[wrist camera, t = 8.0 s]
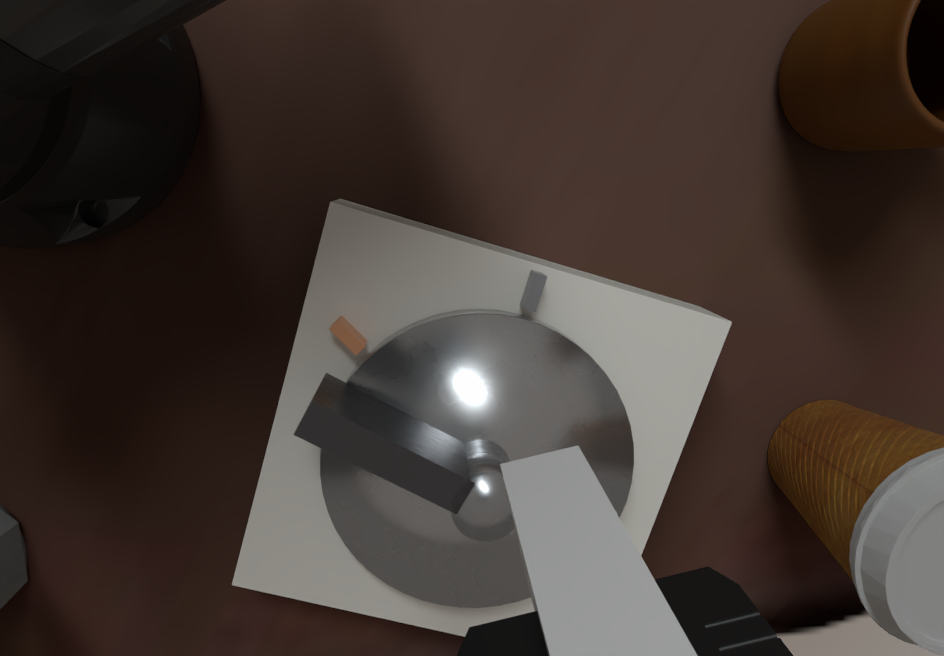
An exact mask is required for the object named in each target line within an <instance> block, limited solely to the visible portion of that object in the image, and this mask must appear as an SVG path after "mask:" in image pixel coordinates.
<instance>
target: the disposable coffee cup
mask: <svg viewBox="0 0 944 656" xmlns="http://www.w3.org/2000/svg"><path fill="white" fill-rule="evenodd" d="M768 466H769V471H770V473H771V475H772V478H773V480H774V482H775V483H776V484H777V486H778V487H779V488H780V489H781V490H782V492H783V493H784V494H785V495H786V497H787V498H788V499H789V500H790V502H791V503H792V504H793V506H794V507H795V508H796V509H797V511H798V512H799V513H800V514H801V516H802V517H803V518H804V520H805V521H806V522H807V523H808V525H809V526H810V527H811V528H812V530H813V531H814V532H815V533H816V535H817V536H818V537H819V539H820V540H821V541H822V542H823V544H824V545H825V546H826V548H827V549H828V550H829V551H830V553H831V554H832V555H833V556H834V558H835V559H836V560H837V561H838V563H839V564H840V565H841V566H842V568H843V569H844V570H845V572H846V573H847V574H848V575H849V577H850V578H851V579H852V580H853V583H854V585H855V587H856V590H857V593H858V595H859V598H860V601H861V603H862V604H863V606H864V607H865V609H866V610H867V612H868V613H869V615H870V616H871V617H872V619H873V620H874V621H875V622H876V623H877V624H878V625H879V626H880V627H882V628H883V629H884V630H885V631H887V632H888V633H889V634H891V635H893V636H895V637H897V638H899V639H901V640H903V641H905V642H908V643H911V644H915V645H918V646H920V647H922V648H924V649H927V650H929V651H931V652H933V653H936V654H940V655H944V436H942V435H940V434H936V433H933V432H930V431H927V430H924V429H921V428H917V427H914V426H912V425H909V424H906V423H903V422H900V421H897V420H894V419H891V418H888V417H885V416H882V415H879V414H876V413H873V412H870V411H867V410H863V409H860V408H858V407H855V406H852V405H849V404H846V403H843V402H841V401H835V400H819V401H815V402H811V403H808V404H806V405H804V406H802V407H800V408H798V409H796V410H794V411H793V412H792V413H790V414H789V415H788V416H787V417H786V418H785V419H784V420H783V421H782V422H781V423H780V425H779V426H778V428H777V429H776V431H775V432H774V434H773V436H772V438H771V441H770V445H769V449H768Z"/></svg>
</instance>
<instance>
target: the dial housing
mask: <svg viewBox="0 0 944 656" xmlns="http://www.w3.org/2000/svg"><path fill="white" fill-rule="evenodd" d="M466 309H495V310H502V311H508V312H514V313H518V314H522V315H525V316H528V317H531V318H534V319H537V320H539V321H541V322H544V323H546V324H548V325H550V326H552V327H554V328H556V329H557V330H559V331H560V332H562V333H564V334H565V335H567V336H568V337H570V338H571V339H572V340H574V341H575V342H576V343H577V344H578V345H579V346H581V347H582V348H583V349H584V350H585V351H586V352H587V353H588V354H589V355H590V356H591V357H592V358H593V359H594V361H595V362H596V363H597V364H598V365H599V366H600V367H601V369H602V370H603V371H604V372H605V373H606V374H607V376H608V377H609V379H610V380H611V382H612V383H613V385H614V387H615V388H616V390H617V391H618V394H619V396H620V398H621V400H622V402H623V404H624V406H625V409H626V412H627V416H628V419H629V422H630V425H631V431H632V437H633V444H634V468H633V476H632V483H631V487H630V491H629V495H628V499H627V502H626V504H625V507H624V509H623V512H622V514H621V517H620V520H621V522H622V523H623V525H624V527H625V529H626V530H627V532H628V534H629V536H630V537H631V539H632V541H633V543H634V545H635V546H636V548H637V550H638V552H639V553H640V555H642V552H643V550H644V547H645V545H646V542H647V540H648V537H649V534H650V532H651V529H652V527H653V524H654V522H655V519H656V516H657V514H658V511H659V509H660V506H661V504H662V501H663V498H664V496H665V493H666V491H667V488H668V485H669V483H670V480H671V478H672V475H673V473H674V470H675V467H676V465H677V462H678V460H679V457H680V455H681V452H682V449H683V447H684V444H685V442H686V439H687V437H688V434H689V431H690V429H691V426H692V424H693V421H694V419H695V416H696V413H697V411H698V408H699V406H700V403H701V400H702V398H703V395H704V393H705V390H706V388H707V385H708V382H709V380H710V377H711V375H712V372H713V370H714V367H715V364H716V362H717V359H718V357H719V354H720V352H721V349H722V346H723V344H724V341H725V339H726V336H727V334H728V331H729V328H730V326H731V323H732V322H731V321H729V320H727V319H725V318H723V317H721V316H719V315H716V314H714V313H712V312H710V311H708V310H706V309H704V308H702V307H700V306H696V305H693V304H690V303H686V302H683V301H680V300H676V299H673V298H670V297H666V296H663V295H660V294H656V293H653V292H650V291H646V290H643V289H640V288H636V287H633V286H630V285H627V284H623V283H620V282H617V281H613V280H610V279H607V278H603V277H600V276H597V275H593V274H590V273H587V272H583V271H580V270H577V269H573V268H570V267H567V266H563V265H560V264H557V263H553V262H550V261H547V260H543V259H540V258H537V257H533V256H530V255H527V254H523V253H520V252H517V251H513V250H510V249H507V248H503V247H500V246H497V245H493V244H490V243H487V242H483V241H480V240H477V239H473V238H470V237H467V236H463V235H460V234H457V233H453V232H450V231H447V230H444V229H440V228H437V227H434V226H430V225H427V224H424V223H420V222H417V221H414V220H410V219H407V218H404V217H400V216H397V215H394V214H390V213H387V212H384V211H380V210H377V209H374V208H370V207H367V206H364V205H360V204H357V203H354V202H350V201H347V200H344V199H338V200H335V201H331V202H330V205H329V209H328V212H327V216H326V220H325V224H324V228H323V232H322V236H321V240H320V244H319V247H318V251H317V255H316V259H315V263H314V267H313V271H312V275H311V279H310V282H309V286H308V290H307V294H306V298H305V302H304V306H303V310H302V314H301V317H300V321H299V325H298V329H297V333H296V337H295V341H294V345H293V349H292V353H291V356H290V360H289V364H288V368H287V372H286V376H285V380H284V384H283V388H282V391H281V395H280V399H279V403H278V407H277V411H276V415H275V419H274V423H273V426H272V430H271V434H270V438H269V442H268V446H267V450H266V454H265V458H264V461H263V465H262V469H261V473H260V477H259V481H258V485H257V489H256V493H255V496H254V500H253V504H252V508H251V512H250V516H249V520H248V524H247V528H246V531H245V535H244V539H243V543H242V547H241V551H240V555H239V559H238V563H237V566H236V570H235V574H234V578H233V582H232V585H233V586H238V587H243V588H247V589H252V590H256V591H261V592H265V593H270V594H274V595H279V596H283V597H288V598H292V599H297V600H301V601H306V602H310V603H315V604H319V605H324V606H328V607H333V608H337V609H342V610H346V611H351V612H355V613H360V614H364V615H369V616H374V617H378V618H383V619H387V620H392V621H396V622H401V623H405V624H410V625H414V626H419V627H423V628H428V629H432V630H437V631H441V632H446V633H450V634H455V635H459V636H464V637H465V636H466V634H467V631H468V629H469V627H473V626H477V625H481V624H485V623H489V622H493V621H497V620H501V619H505V618H510V617H514V616H518V615H522V614H526V613H530V612H534V611H535V610H534V607H533V603H532V599H531V597H530V598H527V599H524V600H521V601H519V602H514V603H510V604H505V605H501V606H493V607H483V608H459V607H451V606H444V605H438V604H434V603H430V602H426V601H422V600H420V599H417V598H415V597H412V596H409V595H407V594H404V593H402V592H400V591H399V590H397V589H395V588H393V587H391V586H389V585H387V584H386V583H384V582H383V581H382V580H380V579H379V578H377V577H376V576H375V575H373V574H372V573H371V572H370V571H369V570H367V569H366V568H365V567H364V566H363V565H362V564H361V563H360V562H359V561H358V560H357V559H356V558H355V557H354V555H353V554H352V553H351V552H350V551H349V549H348V548H347V547H346V546H345V544H344V542H343V541H342V539H341V538H340V536H339V534H338V533H337V531H336V529H335V527H334V525H333V523H332V520H331V518H330V516H329V514H328V511H327V507H326V504H325V500H324V497H323V493H322V485H321V478H320V453H321V448H319V447H317V446H315V445H313V444H311V443H309V442H307V441H305V440H303V439H301V438H299V437H297V436H295V435H293V434H294V432H295V431H296V429H297V427H298V425H299V423H300V421H301V419H302V417H303V415H304V413H305V411H306V409H307V407H308V405H309V403H310V401H311V399H312V398H313V396H314V394H315V392H316V390H317V388H318V387H319V385H320V383H321V381H322V379H323V377H324V376H325V374H326V373H328V374H330V375H332V376H334V377H336V378H338V379H340V380H342V381H344V382H346V380H347V379H348V377H349V376H350V374H351V372H352V371H353V370H354V369H355V368H356V366H357V365H358V364H359V363H360V362H361V361H362V359H363V358H364V357H365V356H366V355H367V354H368V353H369V352H370V351H372V350H373V349H374V348H375V347H376V346H377V345H378V344H379V343H381V342H382V341H383V340H385V339H386V338H388V337H389V336H391V335H392V334H394V333H395V332H397V331H398V330H400V329H402V328H404V327H406V326H408V325H410V324H412V323H414V322H416V321H419V320H422V319H425V318H428V317H430V316H433V315H436V314H441V313H446V312H451V311H455V310H466Z"/></svg>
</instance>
